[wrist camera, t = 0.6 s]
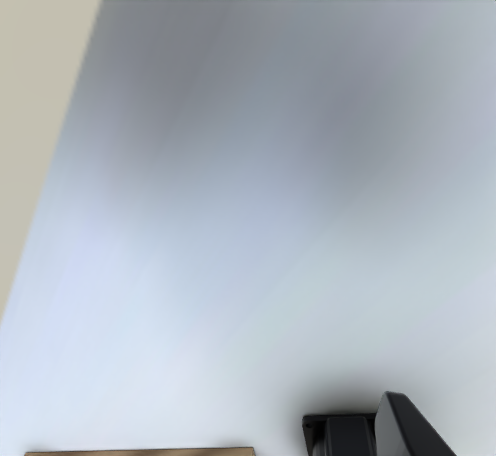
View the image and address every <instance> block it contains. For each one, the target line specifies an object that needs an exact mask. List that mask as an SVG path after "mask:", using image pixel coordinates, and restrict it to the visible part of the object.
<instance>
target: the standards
mask: <svg viewBox="0 0 496 456" xmlns="http://www.w3.org/2000/svg"><path fill="white" fill-rule="evenodd" d="M24 456H255V454H254V451H253V448H213V449H169V450H125V451H81V452H38V453H26V454H25V455H24Z"/></svg>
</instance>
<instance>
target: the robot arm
mask: <svg viewBox="0 0 496 456" xmlns="http://www.w3.org/2000/svg"><path fill="white" fill-rule="evenodd" d="M302 427H303V431H304V436H305V441H306V446H307V451H308V455H309V456H457V455H456V454H455V453H454V452H453V451H452V449H451V448H450V447H449V446H448V445H447V444H446V442H445V441H444V440H443V439H442V438H441V436H440V435H439V434H438V433H437V432H436V430H435V429H434V428H433V427H432V426H431V424H430V423H429V422H428V421H427V420H426V419H425V417H424V416H423V415H422V414H421V413H420V411H419V410H418V409H417V408H416V407H415V405H414V404H413V403H412V402H411V401H410V399H409V398H408V397H407V396H406V395H404V394H402V393H396V392H389V391H386V392H384V394H383V396H382V399H381V402H380V405H379V408H378V411H377V414H354V415H327V416H307V417H304V418H303V419H302Z"/></svg>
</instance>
